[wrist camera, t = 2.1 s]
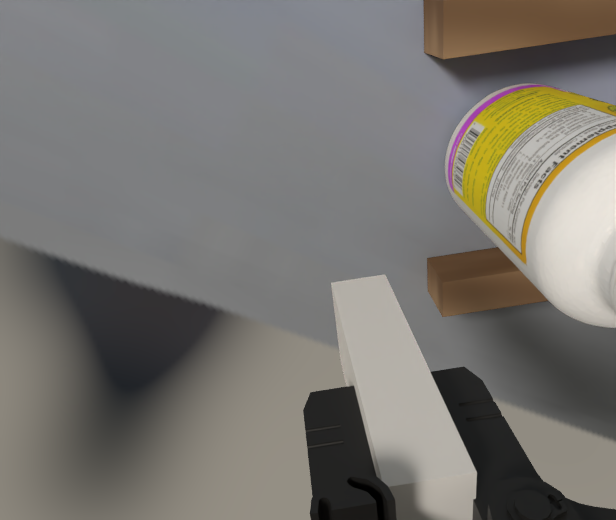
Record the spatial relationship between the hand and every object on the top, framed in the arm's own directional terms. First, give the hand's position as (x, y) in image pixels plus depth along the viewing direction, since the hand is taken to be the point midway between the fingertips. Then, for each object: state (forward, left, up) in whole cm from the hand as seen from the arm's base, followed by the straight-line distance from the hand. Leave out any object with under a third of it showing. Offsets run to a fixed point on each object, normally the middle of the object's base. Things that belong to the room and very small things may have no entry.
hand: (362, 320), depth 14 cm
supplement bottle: (0, +9, -11) cm, 14 cm away
